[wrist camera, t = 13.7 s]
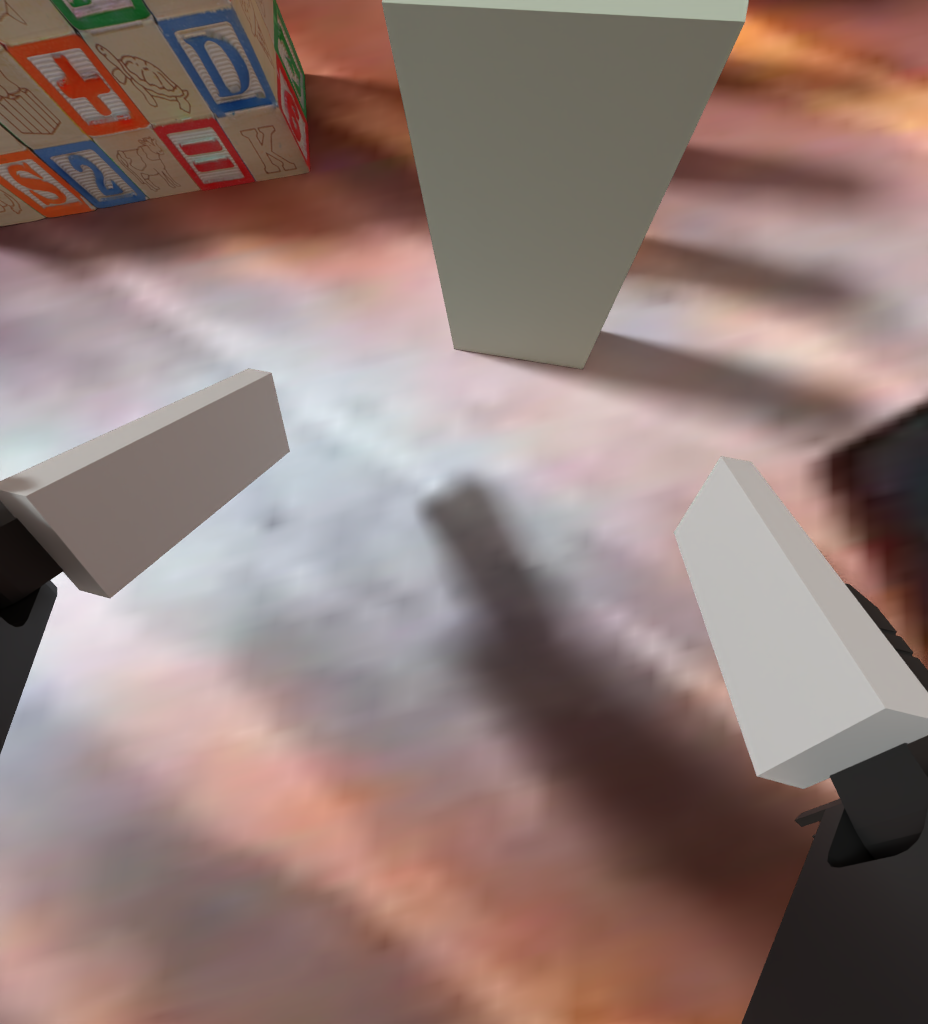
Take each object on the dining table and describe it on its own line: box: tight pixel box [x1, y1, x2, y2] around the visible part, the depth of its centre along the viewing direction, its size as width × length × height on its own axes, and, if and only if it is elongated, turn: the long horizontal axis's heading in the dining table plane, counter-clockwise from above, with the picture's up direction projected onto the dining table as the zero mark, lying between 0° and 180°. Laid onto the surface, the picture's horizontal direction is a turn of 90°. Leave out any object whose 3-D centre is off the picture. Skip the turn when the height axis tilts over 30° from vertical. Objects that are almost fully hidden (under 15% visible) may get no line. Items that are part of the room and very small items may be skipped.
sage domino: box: [382, 0, 749, 369], centre depth 12 cm, size 2×6×11 cm, turn 78°
